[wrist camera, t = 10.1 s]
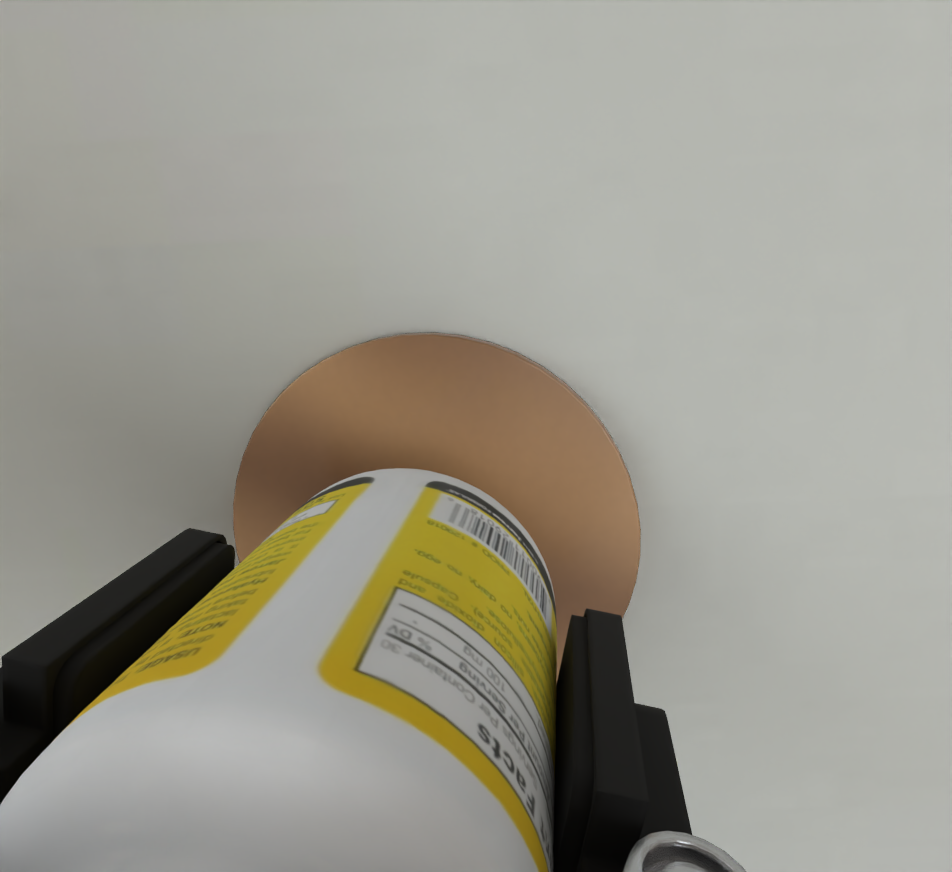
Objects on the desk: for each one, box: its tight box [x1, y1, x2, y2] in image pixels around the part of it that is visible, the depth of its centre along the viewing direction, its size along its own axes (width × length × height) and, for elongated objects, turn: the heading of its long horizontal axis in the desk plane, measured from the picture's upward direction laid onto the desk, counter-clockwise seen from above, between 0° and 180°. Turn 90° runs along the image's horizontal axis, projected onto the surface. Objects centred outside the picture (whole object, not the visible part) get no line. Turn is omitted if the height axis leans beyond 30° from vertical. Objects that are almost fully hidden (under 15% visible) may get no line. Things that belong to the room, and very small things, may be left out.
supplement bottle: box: [0, 468, 557, 872], centre depth 8 cm, size 5×5×10 cm
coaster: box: [233, 333, 641, 684], centre depth 15 cm, size 9×9×1 cm
